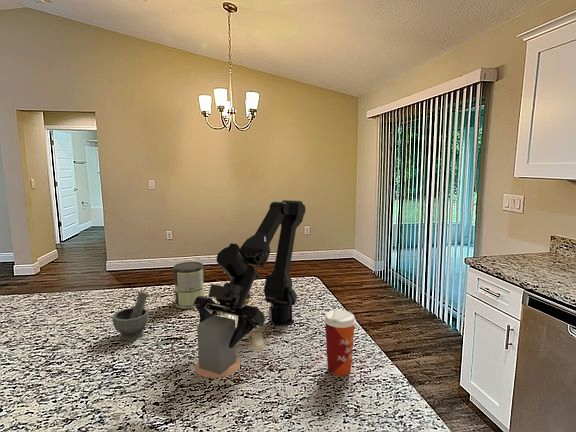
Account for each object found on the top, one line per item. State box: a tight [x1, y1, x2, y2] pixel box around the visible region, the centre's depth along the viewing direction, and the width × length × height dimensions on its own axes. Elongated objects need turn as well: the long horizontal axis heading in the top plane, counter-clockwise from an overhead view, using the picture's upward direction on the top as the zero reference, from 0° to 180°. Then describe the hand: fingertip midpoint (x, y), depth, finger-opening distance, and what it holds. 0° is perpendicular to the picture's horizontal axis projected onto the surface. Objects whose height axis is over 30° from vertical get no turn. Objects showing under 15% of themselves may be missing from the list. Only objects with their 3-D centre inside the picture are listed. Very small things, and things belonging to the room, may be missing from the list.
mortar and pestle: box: [111, 291, 150, 342], centre depth 111 cm, size 11×9×12 cm
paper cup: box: [323, 309, 357, 377], centre depth 92 cm, size 8×8×14 cm
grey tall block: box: [196, 314, 237, 375], centre depth 92 cm, size 6×6×11 cm
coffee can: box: [172, 261, 205, 309], centre depth 136 cm, size 10×10×14 cm
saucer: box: [194, 356, 241, 379], centre depth 92 cm, size 11×11×5 cm
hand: (214, 343), depth 91 cm, fingers open, 9 cm apart
